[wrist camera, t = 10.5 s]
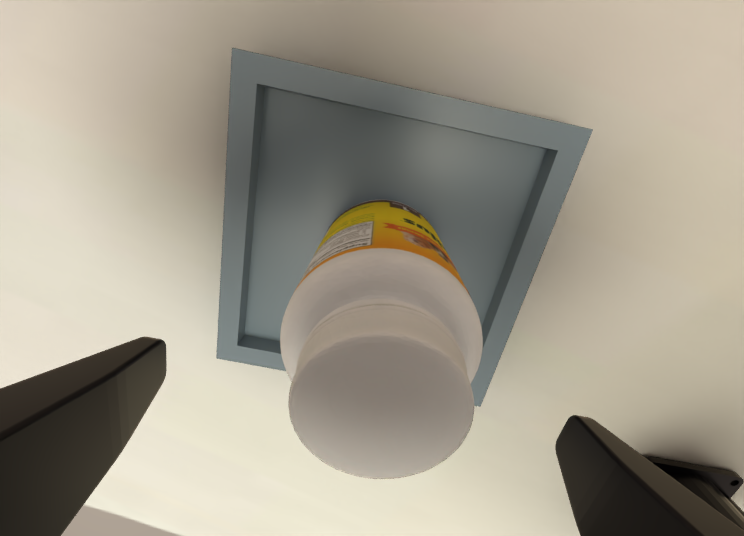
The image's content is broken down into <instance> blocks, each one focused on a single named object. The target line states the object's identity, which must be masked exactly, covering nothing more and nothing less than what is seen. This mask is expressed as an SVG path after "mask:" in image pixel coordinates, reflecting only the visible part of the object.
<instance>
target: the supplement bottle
mask: <svg viewBox="0 0 744 536" xmlns="http://www.w3.org/2000/svg"><path fill="white" fill-rule="evenodd" d="M280 348H281V355H282V360H283V363H284V366H285V369H286V371H287V374H288V376H289V378H290V380H291V381H292V384H291V388H290V393H289V413H290V419H291V422H292V424H293V427H294V430H295V432H296V433H297V435H298V437H299V439H300V440H301V442H302V443H303V444H304V445H305V447H306V448H307V449H308V450H309V451H310V452H311V453H312V454H313V455H315V456H316V457H317V458H318V459H320V460H321V461H322V462H324V463H326V464H328V465H329V466H331V467H333V468H335V469H337V470H340V471H342V472H345V473H348V474H351V475H355V476H359V477H364V478H372V479H394V478H401V477H406V476H410V475H414V474H418V473H421V472H424V471H426V470H428V469H430V468H433V467H435V466H436V465H438V464H439V463H441V462H442V461H444V460H446V459H447V458H448V457H449V456H450V455H452V454H453V453H454V452H455V451H456V450H457V449H458V448H459V446H460V445H461V444H462V442H463V441H464V439H465V437H466V436H467V434H468V432H469V430H470V427H471V424H472V421H473V414H474V397H473V392H472V388H471V382H472V381H473V379H474V377H475V374H476V372H477V370H478V367H479V364H480V360H481V355H482V348H483V337H482V328H481V323H480V319H479V316H478V313H477V310H476V307H475V305H474V303H473V301H472V298H471V296H470V294H469V292H468V290H467V289H466V287H465V285H464V283H463V281H462V280H461V278H460V276H459V273H458V272H457V269H456V268H455V266H454V264H453V263H452V261H451V259H450V257H449V255H448V254H447V252H446V250H445V248H444V246H443V244H442V243H441V241H440V239H439V237H438V235H437V233H436V231H435V230H434V228H433V227H432V225H431V224H430V223H429V221H428V220H427V219H426V218H425V217H424V216H423V215H422V214H420V213H419V212H418V211H416V210H415V209H413V208H412V207H410V206H408V205H405V204H403V203H400V202H397V201H392V200H370V201H366V202H362V203H359V204H357V205H355V206H352V207H351V208H349V209H347V210H346V211H345V212H343V213H342V214H341V215H340V216H339V217H338V218H337V219H336V220H335V221H334V222H333V223H332V225H331V226H330V227H329V228H328V231H327V232H326V234H325V236H324V238H323V240H322V242H321V243H320V245H319V247H318V249H317V251H316V252H315V254H314V256H313V258H312V260H311V262H310V264H309V265H308V267H307V269H306V271H305V273H304V275H303V277H302V278H301V280H300V282H299V284H298V286H297V288H296V289H295V291H294V293H293V295H292V297H291V299H290V301H289V303H288V306H287V308H286V311H285V314H284V317H283V320H282V324H281V333H280Z"/></svg>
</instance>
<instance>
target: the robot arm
mask: <svg viewBox="0 0 744 536" xmlns="http://www.w3.org/2000/svg"><path fill="white" fill-rule="evenodd" d="M165 376H166V344H165V342H164V341H163V340H161V339H156V338H151V337H141V338H138V339H135V340H132V341H130V342H127V343H124V344H121V345H119V346H116V347H113V348H111V349H108V350H105V351H102V352H100V353H97V354H94V355H91V356H89V357H86V358H83V359H80V360H78V361H75V362H72V363H69V364H67V365H64V366H61V367H58V368H56V369H53V370H50V371H47V372H45V373H42V374H39V375H36V376H34V377H31V378H28V379H26V380H23V381H20V382H17V383H15V384H12V385H9V386H6V387H4V388H1V389H0V536H61V535H62V533H63V532H64V530H65V529H66V528H67V526H68V525H69V524H70V522H71V521H72V519H73V518H74V516H75V515H76V514H77V513H78V511H79V510H80V509H81V507H82V506H83V504H84V503H85V502H86V500H87V499H88V498H89V496H90V495H91V494H92V492H93V491H94V489H95V488H96V487H97V485H98V484H99V483H100V481H101V480H102V478H103V477H104V476H105V474H106V473H107V472H108V470H109V469H110V468H111V466H112V465H113V463H114V462H115V461H116V459H117V458H118V456H119V455H120V453H121V452H122V451H123V449H124V447H125V446H126V444H127V443H128V441H129V439H130V438H131V436H132V434H133V433H134V431H135V429H136V428H137V426H138V424H139V422H140V421H141V419H142V417H143V416H144V414H145V412H146V411H147V409H148V407H149V406H150V404H151V402H152V400H153V399H154V397H155V395H156V394H157V392H158V390H159V389H160V387H161V385H162V383H163V381H164V379H165ZM556 454H557V458H558V461H559V465H560V469H561V472H562V476H563V479H564V483H565V486H566V490H567V493H568V497H569V500H570V504H571V507H572V511H573V514H574V517H575V521H576V524H577V527H578V530H579V533H580V535H581V536H744V512H743V511H742V510H741V509H740V508H739V507H738V506H737V505H736V503H735V502H734V501H733V500H732V499H731V497H732V496H733V495H734V493H735V492H736V491H737V490H738V489H739V487H740V486H741V485H742V484H743V479H742V478H741V477H740V476H739V475H738V474H737V473H736V472H733V471H727V470H721V469H716V468H710V467H705V466H699V465H694V464H688V463H683V462H677V461H671V460H666V459H660V458H655V457H644V456H642V455H641V454H639V453H638V452H637V451H635V450H634V449H633V448H631V447H630V446H629V445H627V444H626V443H625V442H623V441H622V440H621V439H619V438H618V437H617V436H615V435H614V434H612V433H611V432H610V431H608V430H607V429H606V428H604V427H603V426H602V425H600V424H599V423H598V422H596V421H595V420H593V419H591V418H588V417H583V416H578V415H573V416H571V417H569V419H568V420H567V422H566V424H565V426H564V428H563V429H562V431H561V433H560V435H559V437H558V439H557V441H556Z"/></svg>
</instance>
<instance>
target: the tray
mask: <svg viewBox="0 0 744 536" xmlns="http://www.w3.org/2000/svg"><path fill="white" fill-rule="evenodd" d="M591 133H592V129H588V128H584V127H579V126H575V125H570V124H566V123H562V122H557V121H553V120H548V119H544V118H540V117H535V116H531V115H526V114H522V113H518V112H513V111H509V110H504V109H500V108H496V107H491V106H487V105H482V104H478V103H474V102H469V101H465V100H460V99H456V98H452V97H447V96H443V95H438V94H434V93H430V92H425V91H421V90H416V89H412V88H408V87H403V86H399V85H394V84H390V83H386V82H381V81H377V80H372V79H368V78H364V77H359V76H355V75H350V74H346V73H342V72H337V71H333V70H328V69H324V68H320V67H315V66H311V65H306V64H302V63H298V62H293V61H289V60H284V59H280V58H275V57H271V56H267V55H262V54H258V53H253V52H249V51H245V50H240V49H236V48H232V59H231V79H230V99H229V119H228V139H227V159H226V179H225V199H224V219H223V238H222V258H221V278H220V298H219V318H218V338H217V359H223V360H228V361H234V362H239V363H245V364H250V365H256V366H261V367H267V368H272V369H278V370H283V371H286V369H285V366H284V363H283V360H282V355H281V348H280V333H281V324H282V320H283V317H284V314H285V311H286V308H287V306H288V303H289V301H290V299H291V297H292V295H293V293H294V291H295V289H296V288H297V286H298V284H299V282H300V280H301V278H302V277H303V275H304V273H305V271H306V269H307V267H308V265H309V264H310V262H311V260H312V258H313V256H314V254H315V252H316V251H317V249H318V247H319V245H320V243H321V242H322V240H323V238H324V236H325V234H326V232H327V231H328V228H329V227H330V226H331V225H332V223H333V222H334V221H335V220H336V219H337V218H338V217H339V216H340V215H341V214H342V213H343V212H345V211H346V210H347V209H349V208H351V207H352V206H355V205H357V204H359V203H362V202H366V201H370V200H392V201H397V202H400V203H403V204H405V205H408V206H410V207H412V208H413V209H415V210H416V211H418V212H419V213H420V214H422V215H423V216H424V217H425V218H426V219H427V220H428V221H429V223H430V224H431V225H432V227H433V228H434V230H435V231H436V233H437V235H438V237H439V239H440V241H441V243H442V244H443V246H444V248H445V250H446V252H447V254H448V255H449V257H450V259H451V261H452V263H453V264H454V266H455V268H456V269H457V272H458V273H459V276H460V278H461V280H462V281H463V283H464V285H465V287H466V289H467V290H468V292H469V294H470V296H471V298H472V301H473V303H474V305H475V307H476V310H477V313H478V316H479V319H480V323H481V328H482V337H483V348H482V355H481V360H480V364H479V367H478V370H477V372H476V374H475V377H474V379H473V381H472V382H471V388H472V392H473V397H474V406H481V404H482V401H483V399H484V396H485V394H486V391H487V389H488V386H489V384H490V382H491V379H492V377H493V374H494V372H495V369H496V367H497V364H498V362H499V359H500V357H501V354H502V352H503V350H504V347H505V345H506V342H507V340H508V337H509V335H510V332H511V330H512V327H513V325H514V322H515V320H516V318H517V315H518V313H519V310H520V308H521V305H522V303H523V300H524V298H525V295H526V293H527V290H528V288H529V286H530V283H531V281H532V278H533V276H534V273H535V271H536V268H537V266H538V263H539V261H540V258H541V256H542V253H543V251H544V249H545V246H546V244H547V241H548V239H549V236H550V234H551V231H552V229H553V226H554V224H555V221H556V219H557V217H558V214H559V212H560V209H561V207H562V204H563V202H564V199H565V197H566V194H567V192H568V189H569V187H570V185H571V182H572V180H573V177H574V175H575V172H576V170H577V167H578V165H579V162H580V160H581V157H582V155H583V153H584V150H585V148H586V145H587V143H588V140H589V138H590V135H591Z"/></svg>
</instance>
